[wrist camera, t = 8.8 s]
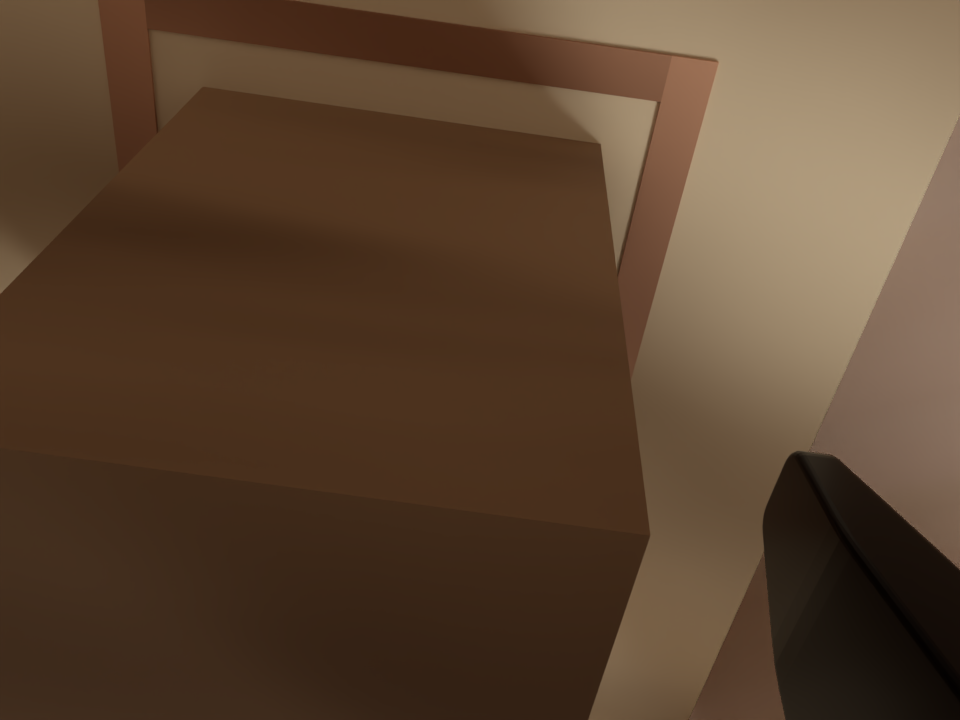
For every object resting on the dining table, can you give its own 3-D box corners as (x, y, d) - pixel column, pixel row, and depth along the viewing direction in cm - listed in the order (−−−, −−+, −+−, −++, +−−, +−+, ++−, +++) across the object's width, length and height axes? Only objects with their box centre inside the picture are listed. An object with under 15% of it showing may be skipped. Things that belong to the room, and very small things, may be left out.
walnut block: (536, 443, 13) (529, 892, 8) (221, 400, 13) (12, 828, 8) (600, 143, 10) (651, 534, 5) (202, 86, 10) (-134, 430, 5)
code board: (561, 959, 25) (561, 1004, 24) (129, 906, 24) (113, 949, 24) (1025, -149, 9) (1075, -136, 8) (-164, -325, 9) (-240, -331, 8)
